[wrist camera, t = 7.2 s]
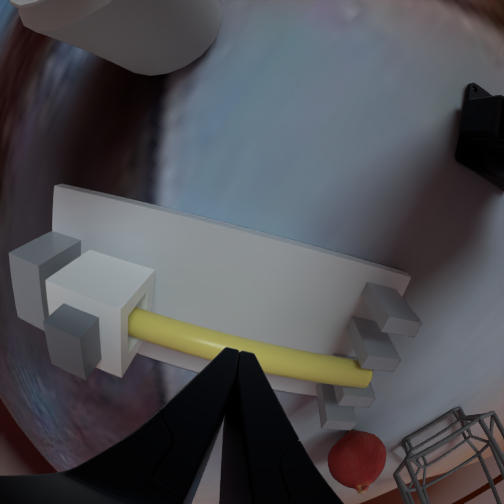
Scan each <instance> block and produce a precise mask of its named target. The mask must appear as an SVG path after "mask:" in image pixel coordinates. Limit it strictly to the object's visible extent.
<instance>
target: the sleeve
mask: <svg viewBox="0 0 504 504" xmlns="http://www.w3.org/2000/svg"><path fill="white" fill-rule="evenodd" d="M154 276H155V269H151V268H148V267H144V266H141V265H138V264H134V263H131V262H128V261H124V260H121V259H118V258H114V257H111V256H108V255H105V254H102V253H98V252H95V251H92V250H89V251H87V252H86V253H84V254H83V255H81V256H80V257H78V258H77V259H75V260H74V261H72V262H71V263H69V264H68V265H66V266H65V267H63V268H62V269H60V270H59V271H58V272H56V273H55V274H53V275H52V276H50V277H49V278H48V279H46V280H45V282H46V293H47V302H48V310H49V317H47V318H46V319H45V320H44V321H43V324H44V330H45V335H46V340H47V345H48V350H49V354H50V359H51V363H52V364H53V365H55V366H57V367H59V368H61V369H63V370H65V371H67V372H69V373H71V374H73V375H75V376H77V377H79V378H81V379H83V380H87V379H88V377H89V376H90V375H91V373H92V372H93V370H94V369H95V367H96V368H98V369H101V370H103V371H105V372H108V373H110V374H113V375H115V376H118V377H121V378H122V377H123V375H124V373H125V372H126V370H127V368H128V367H129V365H130V363H131V362H132V360H133V358H134V356H135V355H136V353H137V351H138V350H139V348H140V346H141V345H142V343H143V341H144V340H141V339H138V338H135V337H132V336H129V335H128V315H129V314H130V313H131V311H132V310H133V309H134V308H135V307H138V308H141V309H144V310H147V311H150V312H151V305H152V295H153V285H154Z"/></svg>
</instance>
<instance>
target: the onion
mask: <svg viewBox="0 0 504 504" xmlns="http://www.w3.org/2000/svg"><path fill="white" fill-rule="evenodd" d="M385 462H386V449H385V446H384V444H383V443H382V441H381V440H380V439H379V438H378V437H377V436H375V435H374V434H371V433H367V432H362V431H357V430H350V431H348V432H347V433H346V434H345V435H344V436H343V437H342V438H341V439H340V440H339V441H338V442H337V443H336V444H335V445H334V446H333V447H332V449H331V450H330V452H329V455H328V467H329V471H330V473H331V475H332V476H333V478H334V479H335V480H337V481H338V482H339V483H341V484H342V485H344V486H346V487H349V488H354V489H356V490H357V491H358V493H365V492H366V491H367V490H368V487H369V485H370V484H371V483H372V482H374V481H375V480H376V479H377V477H378V476H379V475H380V474H381V472H382V470H383V468H384V466H385Z"/></svg>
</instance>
